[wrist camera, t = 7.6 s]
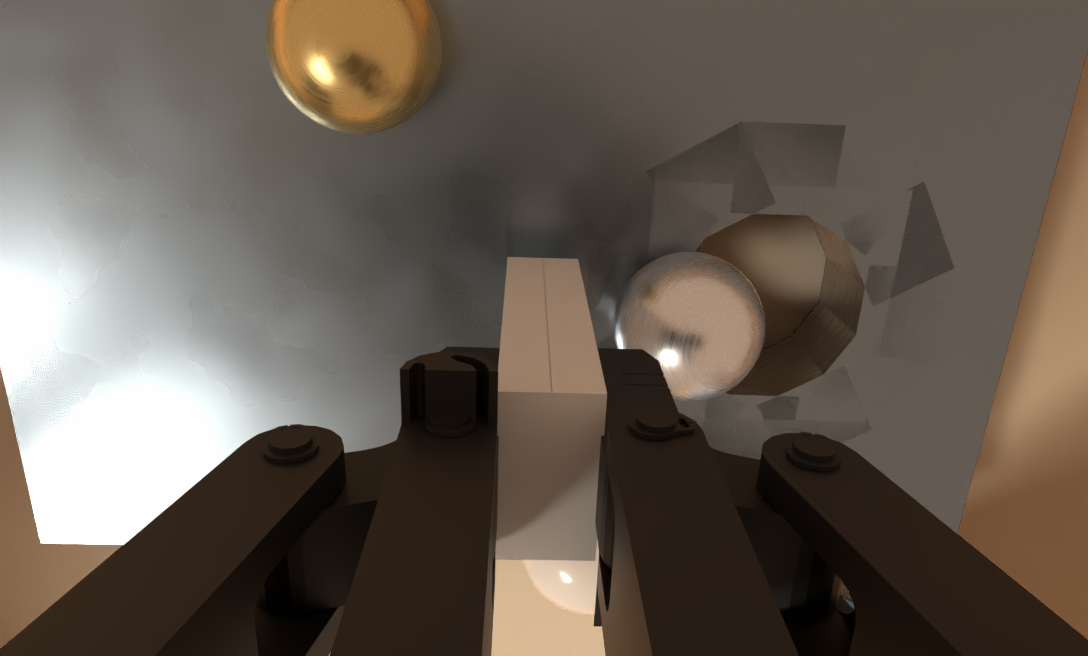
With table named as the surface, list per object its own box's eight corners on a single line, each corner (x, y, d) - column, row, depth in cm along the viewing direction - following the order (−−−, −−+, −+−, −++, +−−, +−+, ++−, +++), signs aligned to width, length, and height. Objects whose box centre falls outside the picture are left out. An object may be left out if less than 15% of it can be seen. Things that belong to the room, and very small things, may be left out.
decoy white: (519, 555, 21) (518, 643, 18) (523, 449, 20) (522, 524, 17) (639, 557, 21) (658, 645, 18) (650, 451, 20) (672, 527, 17)
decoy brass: (298, 122, 17) (249, 142, 14) (287, -44, 16) (230, -62, 13) (450, 127, 17) (433, 148, 14) (449, -38, 16) (431, -53, 13)
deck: (90, 490, 23) (40, 543, 20) (-14, -45, 18) (-96, -56, 15) (907, 507, 24) (950, 560, 21) (1029, 1, 18) (1102, -3, 16)
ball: (581, 378, 18) (665, 439, 15) (590, 242, 17) (681, 283, 14) (692, 357, 19) (786, 410, 17) (707, 231, 18) (809, 266, 16)
